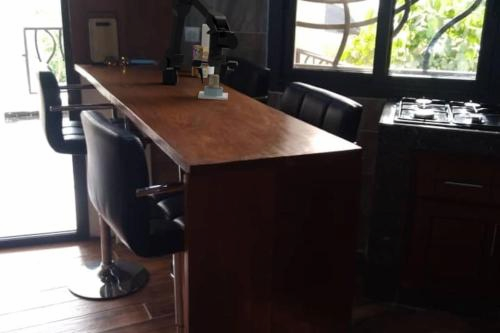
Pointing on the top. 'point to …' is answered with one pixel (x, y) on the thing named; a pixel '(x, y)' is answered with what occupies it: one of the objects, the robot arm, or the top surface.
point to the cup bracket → (213, 93)
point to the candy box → (200, 53)
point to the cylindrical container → (206, 43)
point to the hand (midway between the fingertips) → (213, 84)
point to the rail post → (213, 81)
